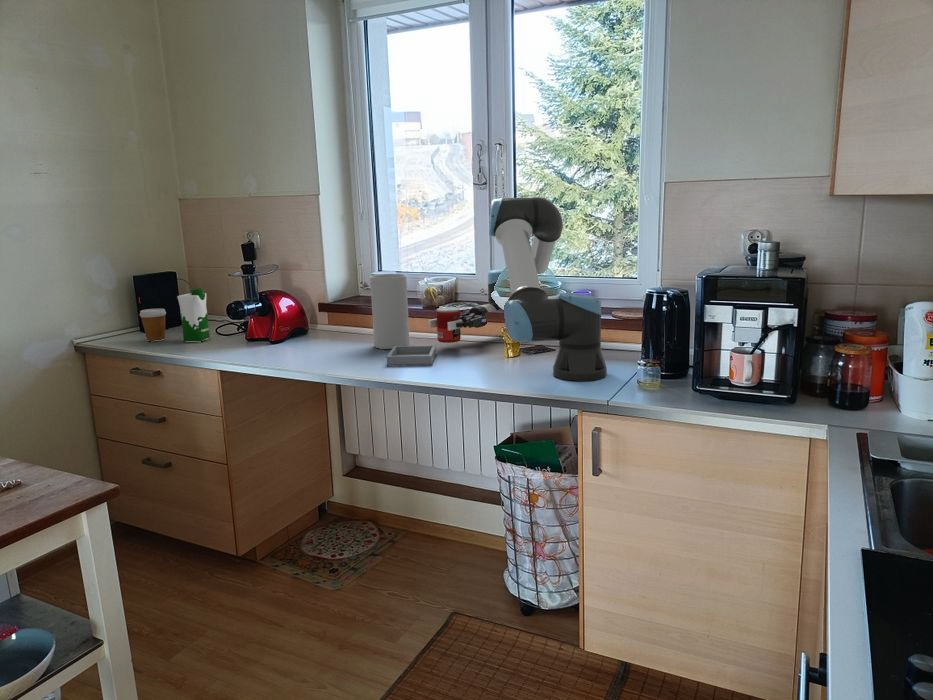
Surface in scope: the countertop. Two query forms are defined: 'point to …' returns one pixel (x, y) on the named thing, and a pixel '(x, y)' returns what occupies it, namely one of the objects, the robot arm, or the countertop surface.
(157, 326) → the disposable coffee cup
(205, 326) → the milk carton
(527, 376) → the countertop surface
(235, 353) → the countertop surface
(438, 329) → the canned food
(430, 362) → the box
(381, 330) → the cylinder vase
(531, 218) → the robot arm
